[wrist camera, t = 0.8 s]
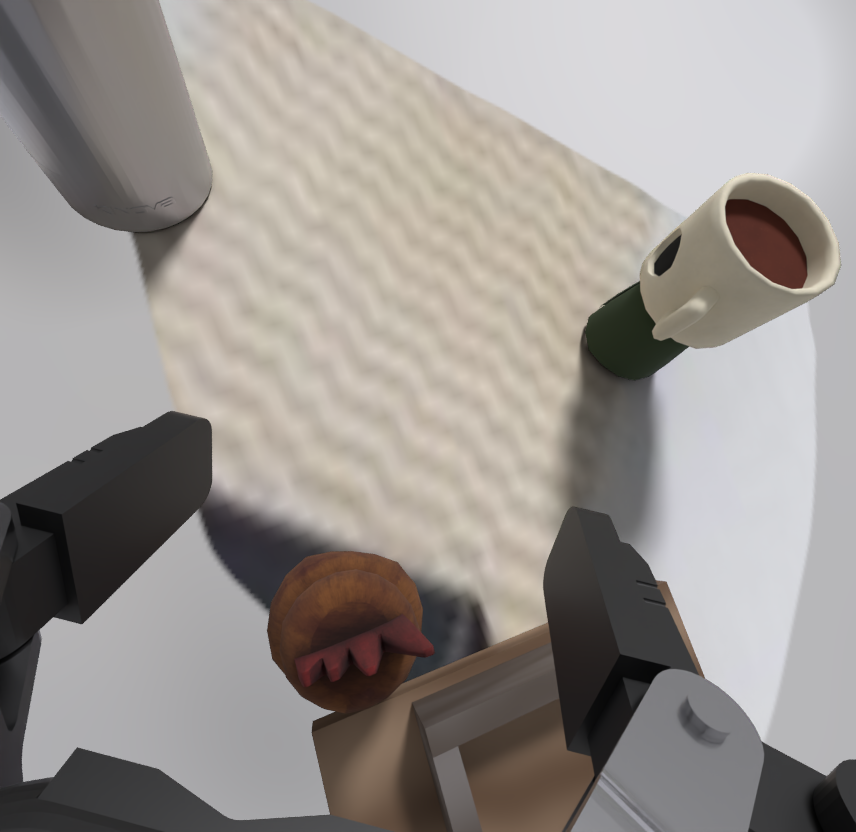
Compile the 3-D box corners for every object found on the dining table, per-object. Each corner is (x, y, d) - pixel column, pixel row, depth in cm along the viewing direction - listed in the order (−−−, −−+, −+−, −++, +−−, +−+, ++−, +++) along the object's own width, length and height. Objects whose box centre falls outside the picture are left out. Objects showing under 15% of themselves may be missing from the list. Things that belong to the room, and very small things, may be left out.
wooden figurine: (407, 553, 27) (491, 565, 13) (400, 661, 25) (487, 815, 11) (290, 546, 25) (237, 551, 11) (274, 659, 24) (189, 828, 10)
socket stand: (312, 721, 23) (307, 766, 19) (650, 579, 29) (711, 586, 25) (375, 995, 21) (388, 1125, 16) (729, 781, 27) (813, 831, 22)
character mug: (626, 273, 36) (778, 133, 24) (690, 336, 35) (878, 227, 23) (541, 352, 32) (668, 235, 20) (611, 424, 32) (785, 350, 20)
